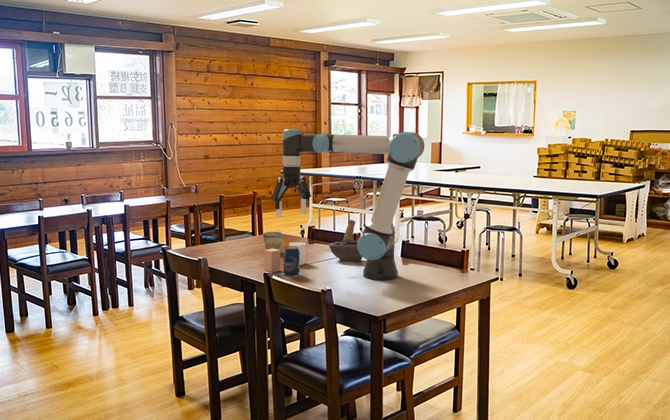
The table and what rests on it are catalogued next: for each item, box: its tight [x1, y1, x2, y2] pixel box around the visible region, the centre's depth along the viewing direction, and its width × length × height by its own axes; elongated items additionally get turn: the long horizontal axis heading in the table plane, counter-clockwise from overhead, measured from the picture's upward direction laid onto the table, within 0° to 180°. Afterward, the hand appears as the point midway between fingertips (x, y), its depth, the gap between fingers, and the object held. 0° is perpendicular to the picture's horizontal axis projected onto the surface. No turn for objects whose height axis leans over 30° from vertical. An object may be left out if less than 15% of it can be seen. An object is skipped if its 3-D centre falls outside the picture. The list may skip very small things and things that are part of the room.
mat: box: [273, 271, 308, 280], centre depth 273 cm, size 12×11×1 cm
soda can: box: [283, 245, 300, 276], centre depth 272 cm, size 7×7×12 cm
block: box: [263, 249, 281, 273], centre depth 279 cm, size 5×5×10 cm
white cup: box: [288, 241, 307, 266], centre depth 294 cm, size 8×8×10 cm
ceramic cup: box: [262, 231, 284, 251], centre depth 323 cm, size 13×10×10 cm
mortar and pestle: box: [328, 219, 363, 262], centre depth 304 cm, size 15×17×20 cm
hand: (291, 215), depth 269 cm, fingers open, 13 cm apart
